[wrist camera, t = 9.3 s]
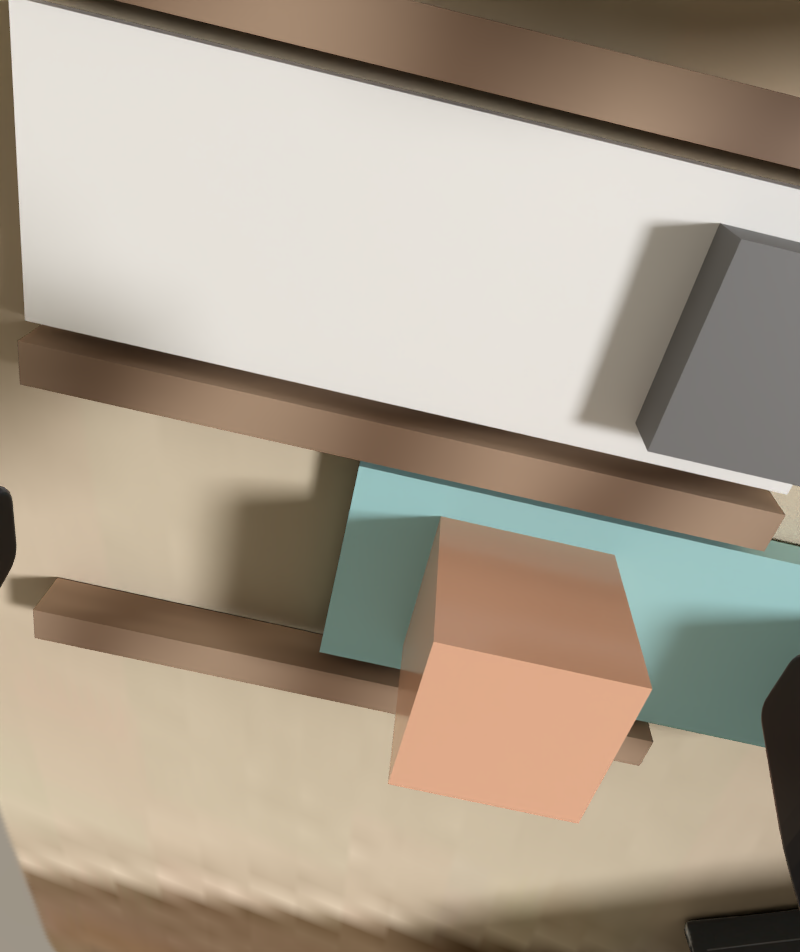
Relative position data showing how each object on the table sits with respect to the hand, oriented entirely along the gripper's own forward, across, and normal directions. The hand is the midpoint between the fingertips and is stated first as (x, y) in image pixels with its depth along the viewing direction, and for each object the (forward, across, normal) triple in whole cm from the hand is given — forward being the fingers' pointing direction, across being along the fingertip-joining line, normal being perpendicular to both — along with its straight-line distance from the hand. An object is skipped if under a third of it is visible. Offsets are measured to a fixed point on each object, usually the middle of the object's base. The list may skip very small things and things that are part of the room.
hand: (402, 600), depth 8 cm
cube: (+11, -4, +8) cm, 14 cm away
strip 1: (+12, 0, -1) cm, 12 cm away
